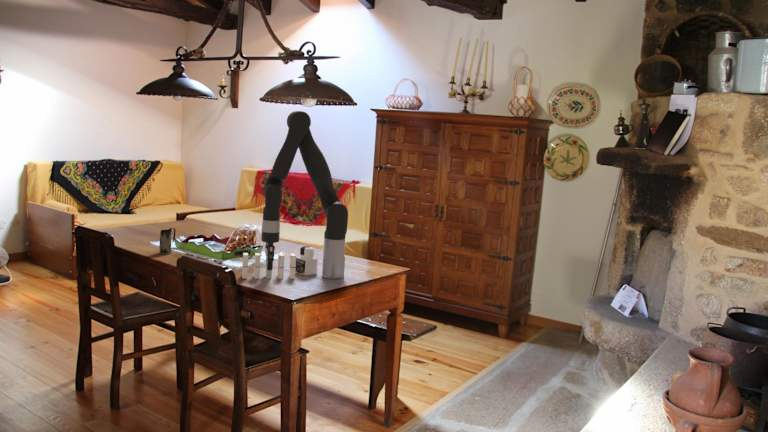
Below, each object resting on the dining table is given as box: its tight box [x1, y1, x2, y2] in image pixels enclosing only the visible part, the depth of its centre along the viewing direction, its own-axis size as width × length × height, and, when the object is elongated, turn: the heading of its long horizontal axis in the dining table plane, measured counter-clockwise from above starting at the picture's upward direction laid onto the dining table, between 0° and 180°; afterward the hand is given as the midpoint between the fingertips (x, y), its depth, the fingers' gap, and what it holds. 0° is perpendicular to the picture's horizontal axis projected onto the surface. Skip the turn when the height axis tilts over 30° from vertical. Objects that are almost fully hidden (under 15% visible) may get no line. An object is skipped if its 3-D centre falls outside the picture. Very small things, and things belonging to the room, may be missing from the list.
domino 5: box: [288, 253, 297, 280], centre depth 277 cm, size 2×5×10 cm, turn 14°
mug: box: [159, 227, 176, 255], centre depth 309 cm, size 8×6×12 cm
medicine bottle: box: [295, 246, 319, 276], centre depth 286 cm, size 7×7×12 cm
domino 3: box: [265, 257, 273, 280], centre depth 274 cm, size 2×5×10 cm, turn 14°
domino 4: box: [277, 252, 285, 280], centre depth 275 cm, size 2×5×10 cm, turn 14°
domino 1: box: [241, 252, 249, 279], centre depth 272 cm, size 2×5×10 cm, turn 14°
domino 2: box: [253, 252, 261, 280], centre depth 273 cm, size 2×5×10 cm, turn 14°
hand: (269, 267), depth 274 cm, fingers open, 8 cm apart
